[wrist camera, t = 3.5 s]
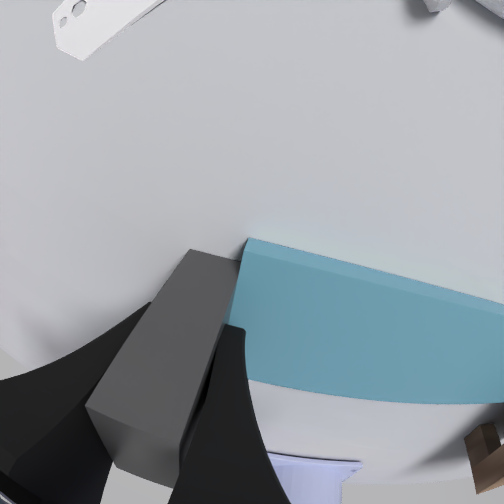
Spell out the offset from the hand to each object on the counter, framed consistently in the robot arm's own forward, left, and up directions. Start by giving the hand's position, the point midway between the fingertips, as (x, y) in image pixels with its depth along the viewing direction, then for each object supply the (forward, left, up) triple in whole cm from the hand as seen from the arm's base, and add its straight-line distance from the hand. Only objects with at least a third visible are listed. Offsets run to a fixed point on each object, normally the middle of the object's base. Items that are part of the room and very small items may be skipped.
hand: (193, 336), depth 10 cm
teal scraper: (0, -11, -2) cm, 11 cm away
